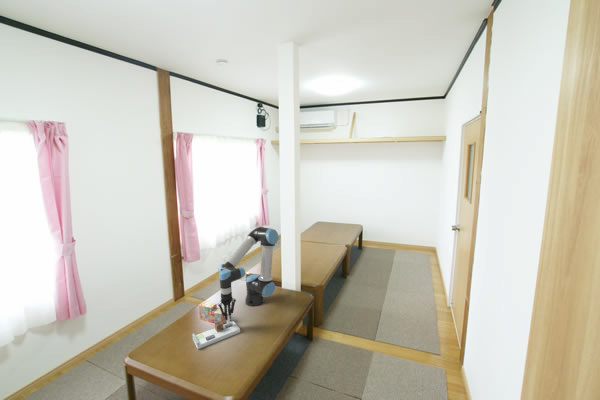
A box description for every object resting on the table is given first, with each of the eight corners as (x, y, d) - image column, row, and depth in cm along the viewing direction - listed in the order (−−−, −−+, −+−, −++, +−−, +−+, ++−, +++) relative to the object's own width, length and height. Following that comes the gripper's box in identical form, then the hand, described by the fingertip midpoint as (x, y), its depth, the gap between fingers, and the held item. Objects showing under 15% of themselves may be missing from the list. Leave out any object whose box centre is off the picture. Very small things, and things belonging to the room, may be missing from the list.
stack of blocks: (227, 321, 208) (226, 306, 206) (221, 326, 202) (220, 310, 200) (205, 315, 217) (204, 300, 215) (199, 319, 211) (198, 304, 209)
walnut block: (221, 326, 197) (220, 320, 196) (223, 329, 193) (223, 323, 192) (215, 329, 194) (214, 323, 193) (217, 332, 190) (216, 326, 190)
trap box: (233, 324, 204) (233, 318, 203) (240, 332, 194) (239, 326, 193) (192, 339, 187) (192, 333, 187) (197, 349, 177) (197, 343, 177)
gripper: (233, 287, 201) (235, 317, 204) (215, 292, 194) (217, 324, 197) (237, 291, 195) (239, 322, 198) (218, 297, 188) (221, 329, 191)
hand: (228, 323), depth 198 cm, fingers closed
